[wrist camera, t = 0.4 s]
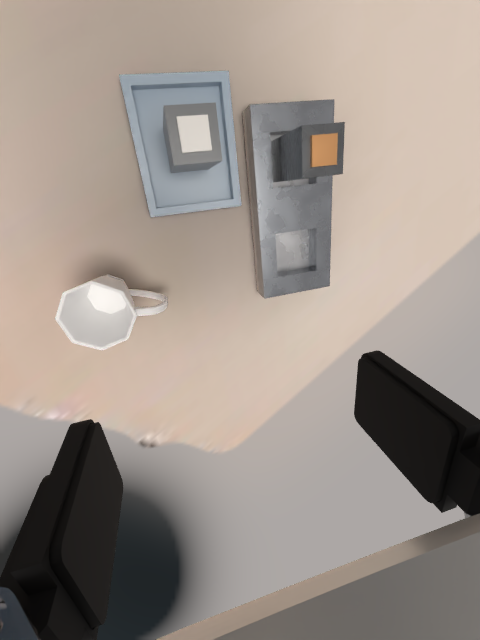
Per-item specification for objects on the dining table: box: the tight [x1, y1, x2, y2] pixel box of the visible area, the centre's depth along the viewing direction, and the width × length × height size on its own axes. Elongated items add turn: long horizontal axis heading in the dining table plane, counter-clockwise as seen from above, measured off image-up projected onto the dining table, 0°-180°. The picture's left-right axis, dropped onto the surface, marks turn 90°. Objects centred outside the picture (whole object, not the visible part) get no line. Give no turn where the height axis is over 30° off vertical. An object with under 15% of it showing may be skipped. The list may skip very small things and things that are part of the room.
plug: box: [163, 102, 222, 173], centre depth 26 cm, size 4×4×8 cm
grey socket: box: [242, 99, 345, 298], centre depth 31 cm, size 20×9×9 cm, turn 6°
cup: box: [55, 274, 168, 350], centre depth 31 cm, size 7×10×8 cm
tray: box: [119, 71, 241, 217], centre depth 30 cm, size 12×10×2 cm
